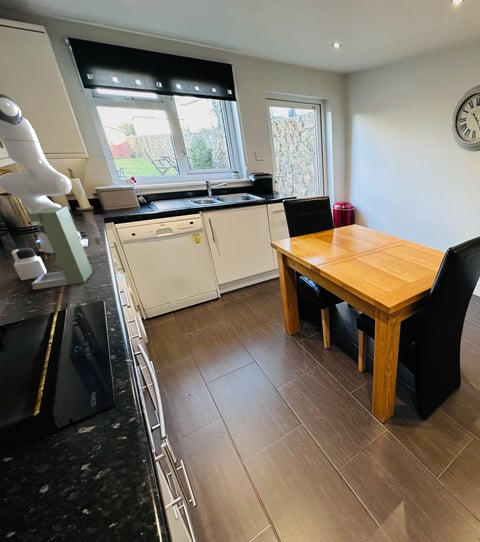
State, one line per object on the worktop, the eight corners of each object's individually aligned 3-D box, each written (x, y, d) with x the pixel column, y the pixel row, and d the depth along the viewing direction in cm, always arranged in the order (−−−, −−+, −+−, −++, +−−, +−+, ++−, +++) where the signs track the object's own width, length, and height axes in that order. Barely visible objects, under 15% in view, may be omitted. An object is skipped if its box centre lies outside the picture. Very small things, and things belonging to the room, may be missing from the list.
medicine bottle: (46, 271, 124) (35, 245, 120) (46, 276, 120) (34, 249, 115) (22, 275, 120) (9, 249, 115) (21, 280, 115) (7, 253, 110)
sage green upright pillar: (45, 278, 118) (13, 209, 106) (92, 271, 125) (67, 206, 113) (32, 289, 108) (-5, 215, 97) (84, 282, 115) (55, 212, 104)
